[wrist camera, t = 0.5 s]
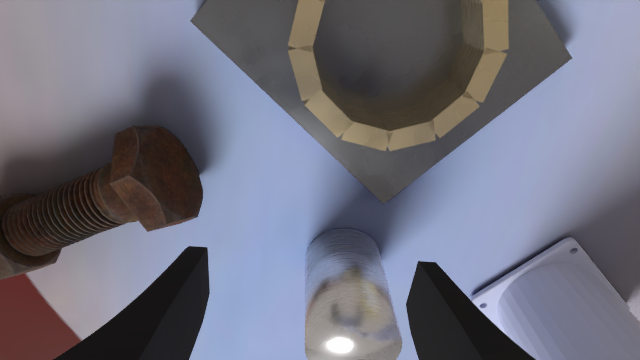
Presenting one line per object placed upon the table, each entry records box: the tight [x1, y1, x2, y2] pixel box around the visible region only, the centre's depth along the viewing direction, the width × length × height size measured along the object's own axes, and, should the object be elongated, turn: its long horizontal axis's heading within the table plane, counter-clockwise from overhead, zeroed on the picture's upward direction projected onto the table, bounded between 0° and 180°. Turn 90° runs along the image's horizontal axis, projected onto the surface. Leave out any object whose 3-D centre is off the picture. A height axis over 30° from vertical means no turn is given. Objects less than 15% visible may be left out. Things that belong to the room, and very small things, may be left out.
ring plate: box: [191, 0, 572, 204], centre depth 18 cm, size 14×12×4 cm
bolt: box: [0, 125, 203, 279], centre depth 21 cm, size 6×5×15 cm
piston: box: [305, 228, 402, 360], centre depth 23 cm, size 5×5×7 cm
